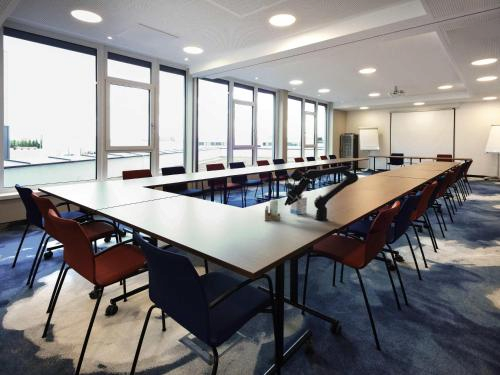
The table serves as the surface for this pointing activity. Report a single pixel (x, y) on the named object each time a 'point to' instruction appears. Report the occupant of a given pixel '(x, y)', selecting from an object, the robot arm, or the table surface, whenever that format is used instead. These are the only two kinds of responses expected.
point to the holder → (268, 217)
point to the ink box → (299, 206)
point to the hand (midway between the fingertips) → (286, 205)
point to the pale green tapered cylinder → (273, 207)
